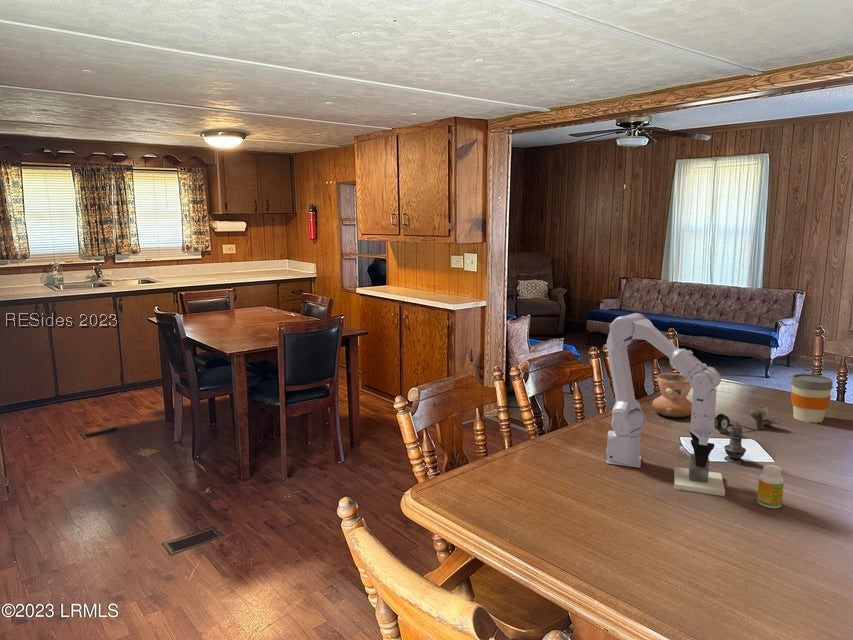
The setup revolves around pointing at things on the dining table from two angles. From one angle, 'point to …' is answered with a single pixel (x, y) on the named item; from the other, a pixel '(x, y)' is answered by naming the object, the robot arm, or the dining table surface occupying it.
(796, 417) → the reusable coffee cup
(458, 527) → the dining table surface
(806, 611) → the dining table surface
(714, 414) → the robot arm
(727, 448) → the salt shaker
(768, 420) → the artificial flower
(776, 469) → the supplement bottle
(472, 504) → the dining table surface
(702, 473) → the slate block
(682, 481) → the cream square slab
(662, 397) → the ceramic jug
